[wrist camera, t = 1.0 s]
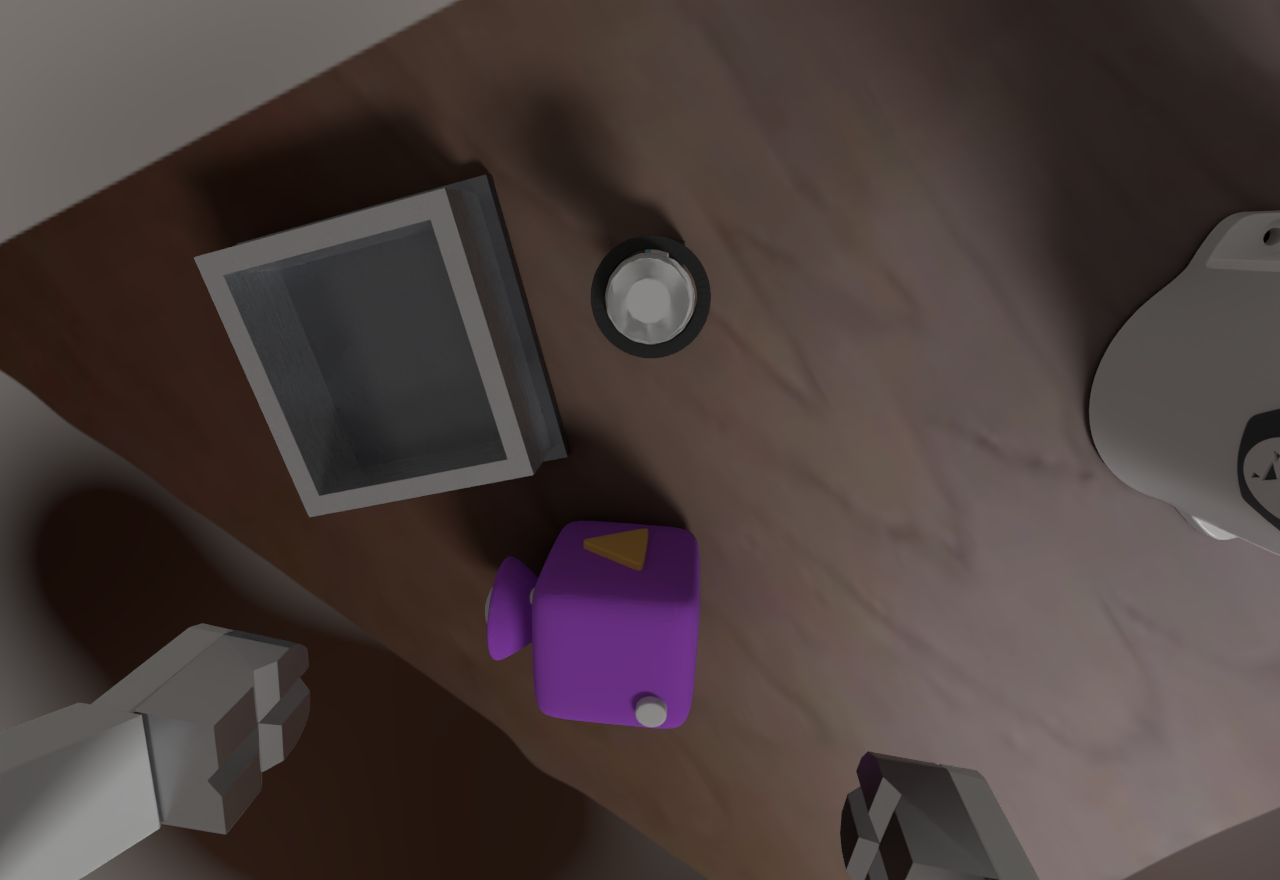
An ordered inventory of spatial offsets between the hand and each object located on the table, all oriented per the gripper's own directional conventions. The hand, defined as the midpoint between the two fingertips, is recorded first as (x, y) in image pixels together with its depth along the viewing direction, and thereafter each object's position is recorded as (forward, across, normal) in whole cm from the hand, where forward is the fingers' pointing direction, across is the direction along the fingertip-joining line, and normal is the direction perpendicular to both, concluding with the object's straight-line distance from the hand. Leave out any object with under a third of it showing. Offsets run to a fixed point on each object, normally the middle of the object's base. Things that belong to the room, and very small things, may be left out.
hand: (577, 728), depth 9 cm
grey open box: (+30, +16, +3) cm, 33 cm away
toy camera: (+30, +1, +16) cm, 34 cm away
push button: (+30, +1, -3) cm, 30 cm away
